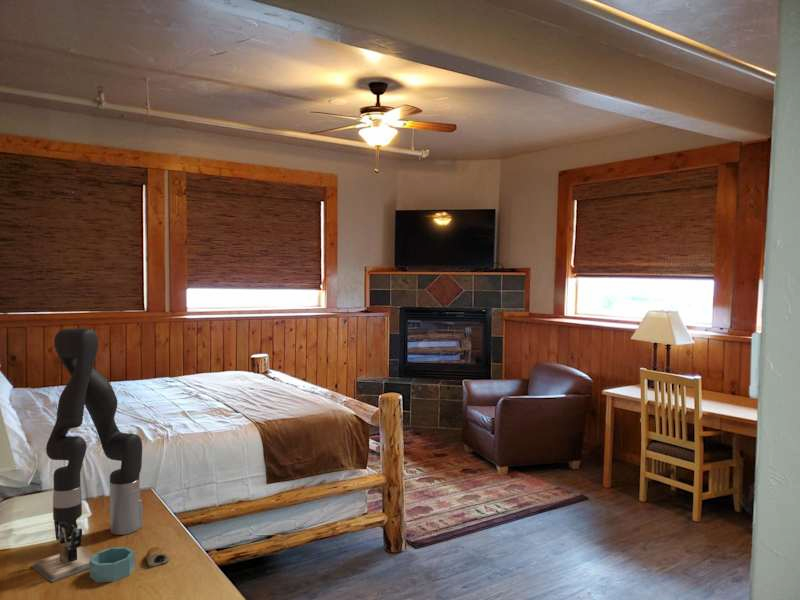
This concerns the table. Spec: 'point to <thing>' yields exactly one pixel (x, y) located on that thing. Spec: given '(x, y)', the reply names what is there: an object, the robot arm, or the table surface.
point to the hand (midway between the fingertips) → (68, 557)
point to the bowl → (112, 564)
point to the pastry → (157, 556)
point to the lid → (65, 562)
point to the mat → (58, 577)
